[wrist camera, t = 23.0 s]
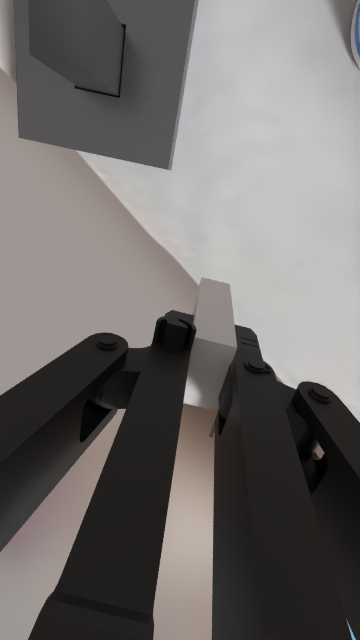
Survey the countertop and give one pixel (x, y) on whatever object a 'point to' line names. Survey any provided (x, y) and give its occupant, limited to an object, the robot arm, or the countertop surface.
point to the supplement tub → (356, 34)
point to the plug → (78, 42)
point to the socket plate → (135, 95)
